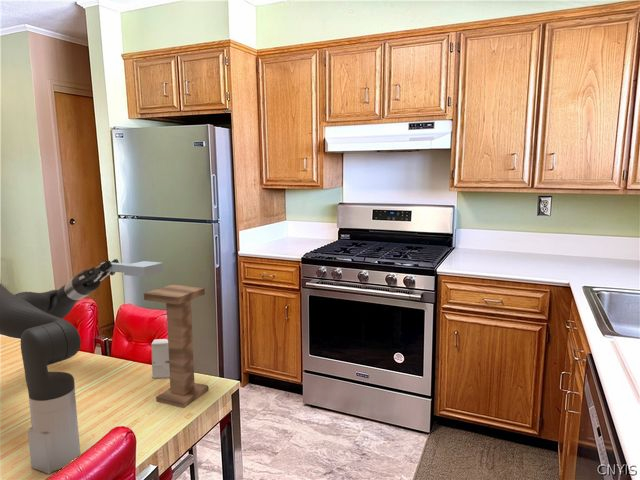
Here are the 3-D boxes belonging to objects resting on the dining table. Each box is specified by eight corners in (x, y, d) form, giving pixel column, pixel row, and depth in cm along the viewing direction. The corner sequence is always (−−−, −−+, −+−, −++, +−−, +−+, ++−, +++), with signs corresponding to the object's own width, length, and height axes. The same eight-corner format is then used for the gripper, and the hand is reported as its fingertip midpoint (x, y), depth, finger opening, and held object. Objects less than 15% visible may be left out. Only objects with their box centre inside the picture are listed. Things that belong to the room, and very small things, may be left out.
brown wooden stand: (182, 408, 131) (177, 297, 126) (149, 399, 136) (143, 293, 131) (208, 390, 142) (204, 288, 137) (177, 383, 146) (172, 284, 142)
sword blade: (144, 277, 134) (143, 267, 133) (93, 272, 142) (92, 262, 142) (163, 272, 141) (163, 262, 141) (113, 267, 149) (113, 258, 149)
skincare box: (152, 378, 150) (150, 343, 148) (155, 373, 154) (153, 339, 153) (171, 377, 151) (169, 342, 149) (173, 371, 155) (172, 338, 153)
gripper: (104, 290, 156) (135, 268, 149) (68, 300, 144) (100, 277, 137) (95, 271, 157) (125, 249, 150) (58, 279, 144) (90, 255, 137)
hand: (113, 262), depth 143 cm, fingers closed on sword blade, 2 cm apart
